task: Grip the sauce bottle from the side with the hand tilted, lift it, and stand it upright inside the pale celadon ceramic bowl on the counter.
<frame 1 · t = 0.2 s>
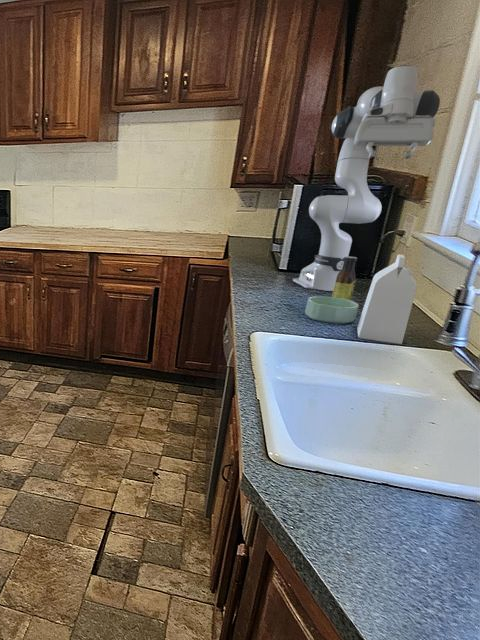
hand: (389, 157, 165), 54 cm above the worktop, tool tilted 30°, fingers open, 8 cm apart
bowl: (328, 317, 190), on the worktop
sauce bottle: (338, 310, 200), on the worktop
milk: (378, 336, 172), on the worktop
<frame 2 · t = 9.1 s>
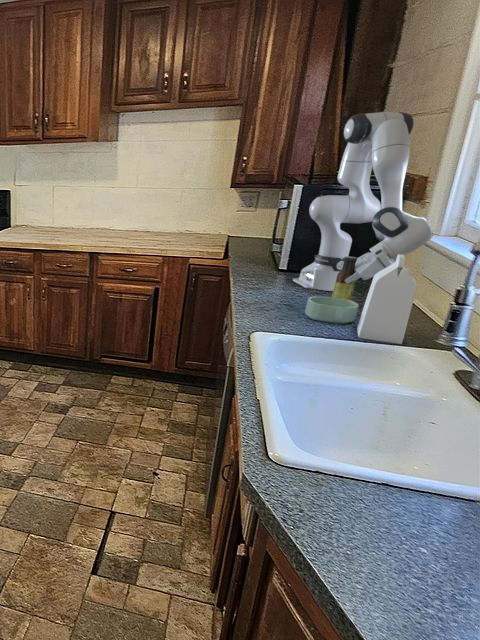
hand: (343, 279, 196), 11 cm above the worktop, tool tilted 45°, fingers closed on sauce bottle, 6 cm apart
sauce bottle: (338, 309, 200), on the worktop, touching gripper
everything else where it was.
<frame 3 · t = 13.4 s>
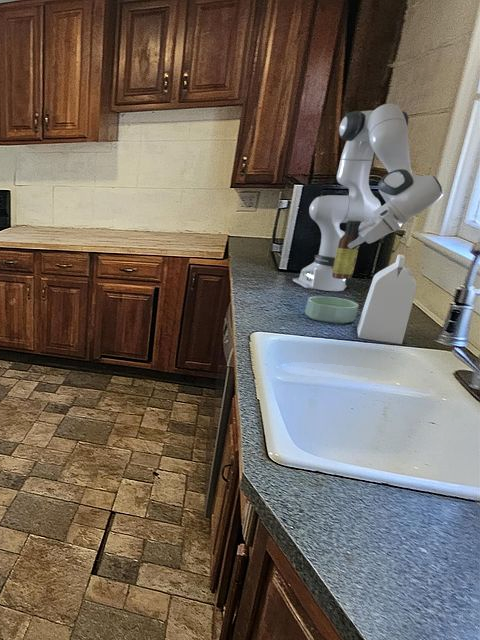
hand: (346, 245, 183), 26 cm above the worktop, tool tilted 45°, fingers closed on sauce bottle, 6 cm apart
sauce bottle: (340, 278, 187), point 14 cm above the worktop, touching gripper
everything else where it was.
when the fingers open (12 cm above the worktop, at t = 17.9 s): sauce bottle stays where it is, resting on bowl.
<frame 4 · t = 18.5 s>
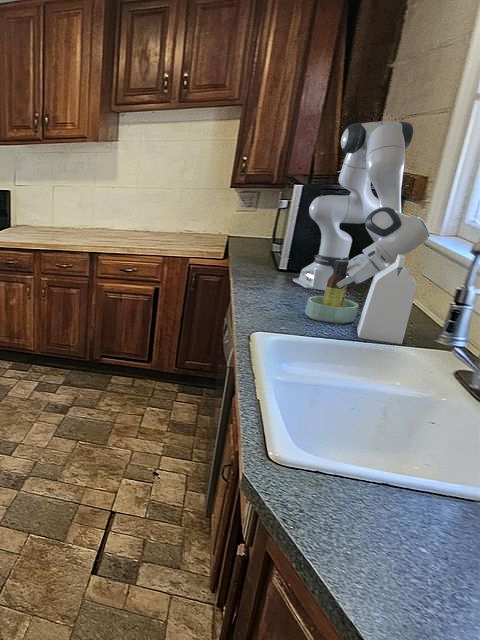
hand: (335, 283, 186), 13 cm above the worktop, tool tilted 45°, fingers open, 8 cm apart
sauce bottle: (329, 316, 190), point 1 cm above the worktop, touching bowl
everything else where it was.
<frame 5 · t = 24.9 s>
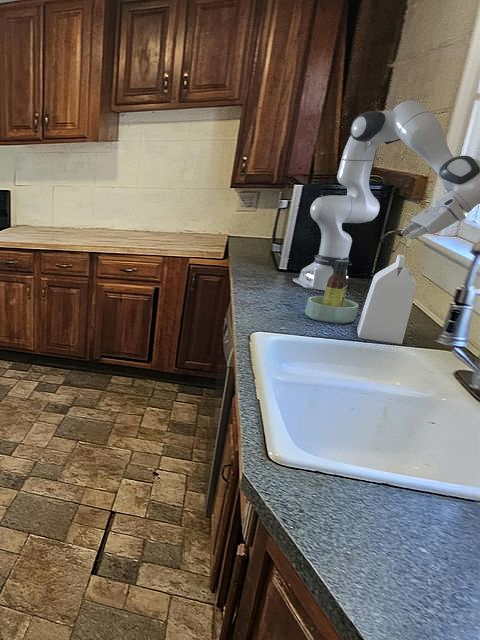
hand: (405, 236, 178), 29 cm above the worktop, tool tilted 45°, fingers open, 8 cm apart
nothing on the worktop moved.
at the end: sauce bottle inside the target area in the bowl (0.1 cm from its centre), point 0.6 cm above the bowl's base; sauce bottle tilted 0°; the gripper is holding nothing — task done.
